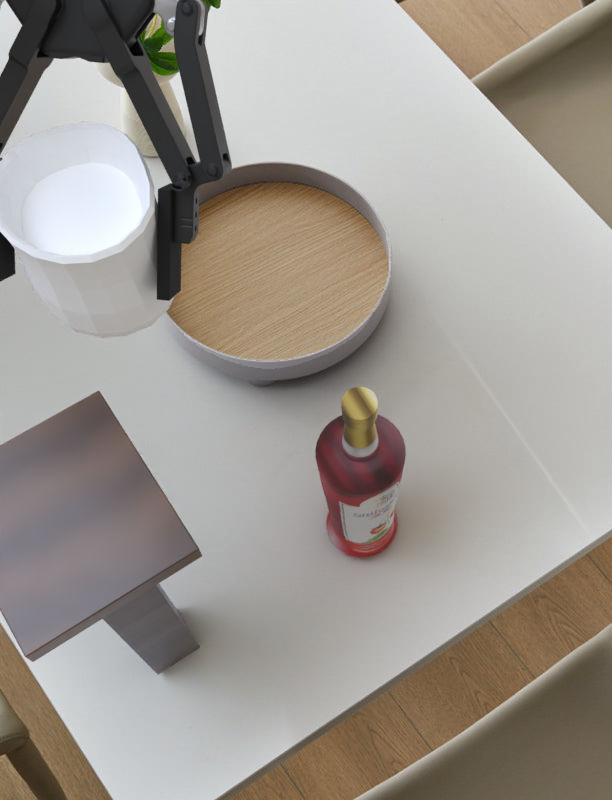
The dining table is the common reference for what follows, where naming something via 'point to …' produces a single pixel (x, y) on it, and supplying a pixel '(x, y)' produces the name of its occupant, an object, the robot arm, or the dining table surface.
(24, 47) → the robot arm
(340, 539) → the liquor
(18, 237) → the cup
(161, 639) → the wooden pedestal stand
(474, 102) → the dining table surface
